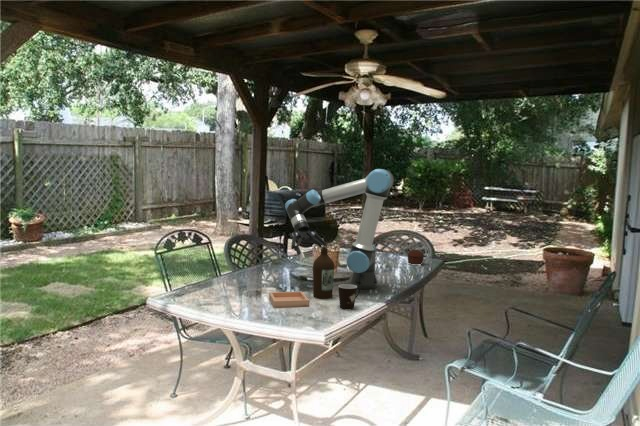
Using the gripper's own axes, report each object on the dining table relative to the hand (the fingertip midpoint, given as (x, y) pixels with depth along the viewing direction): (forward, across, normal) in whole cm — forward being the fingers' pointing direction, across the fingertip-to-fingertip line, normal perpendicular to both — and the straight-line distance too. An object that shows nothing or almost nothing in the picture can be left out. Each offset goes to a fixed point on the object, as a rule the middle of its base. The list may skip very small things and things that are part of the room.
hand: (314, 258), depth 252 cm
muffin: (-13, -105, -39) cm, 113 cm away
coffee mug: (+33, -2, +7) cm, 34 cm away
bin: (+19, +19, -7) cm, 28 cm away
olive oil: (+18, -1, -8) cm, 20 cm away
